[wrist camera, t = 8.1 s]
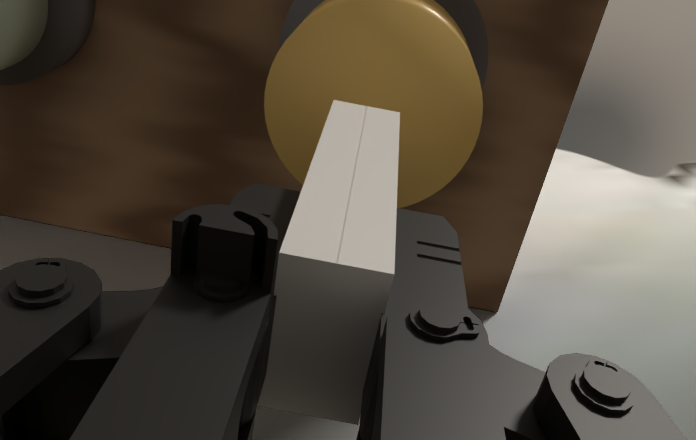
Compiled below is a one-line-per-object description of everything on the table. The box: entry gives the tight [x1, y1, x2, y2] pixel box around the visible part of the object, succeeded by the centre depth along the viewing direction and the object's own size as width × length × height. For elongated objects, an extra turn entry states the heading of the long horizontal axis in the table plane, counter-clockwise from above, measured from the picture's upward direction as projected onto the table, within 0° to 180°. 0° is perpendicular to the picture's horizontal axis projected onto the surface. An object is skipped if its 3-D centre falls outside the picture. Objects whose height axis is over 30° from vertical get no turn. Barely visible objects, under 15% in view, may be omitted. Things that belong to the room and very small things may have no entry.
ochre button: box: [264, 0, 483, 208], centre depth 17 cm, size 6×3×6 cm, turn 84°
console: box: [0, 0, 609, 312], centre depth 25 cm, size 28×10×20 cm, turn 84°
